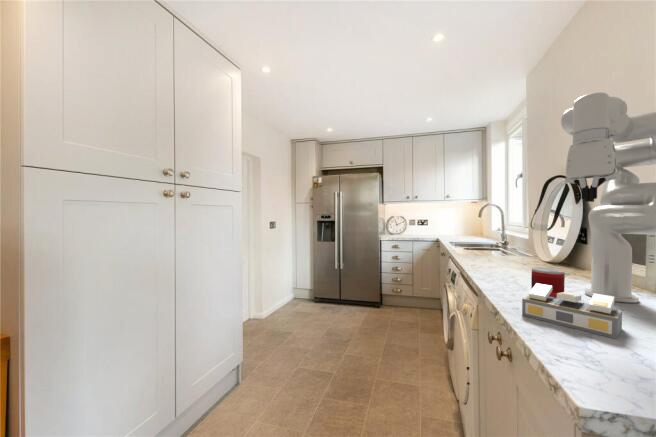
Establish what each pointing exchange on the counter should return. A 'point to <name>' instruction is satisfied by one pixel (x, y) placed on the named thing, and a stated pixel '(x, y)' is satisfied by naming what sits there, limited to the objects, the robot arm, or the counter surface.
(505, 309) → the counter surface
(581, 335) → the counter surface
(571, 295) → the rocker
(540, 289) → the rocker
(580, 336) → the counter surface
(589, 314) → the switch unit
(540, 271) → the canned food
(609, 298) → the rocker
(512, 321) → the counter surface
